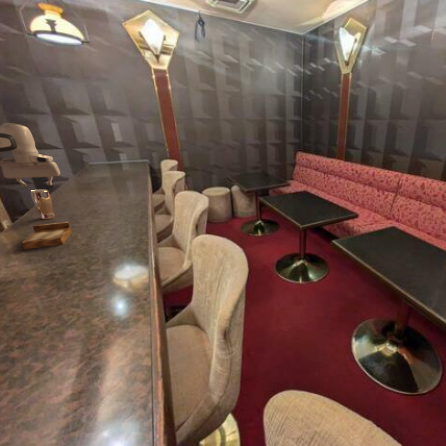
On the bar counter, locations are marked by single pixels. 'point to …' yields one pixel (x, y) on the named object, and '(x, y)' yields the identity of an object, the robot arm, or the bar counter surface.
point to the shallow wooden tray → (48, 235)
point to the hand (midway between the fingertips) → (37, 185)
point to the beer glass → (43, 203)
